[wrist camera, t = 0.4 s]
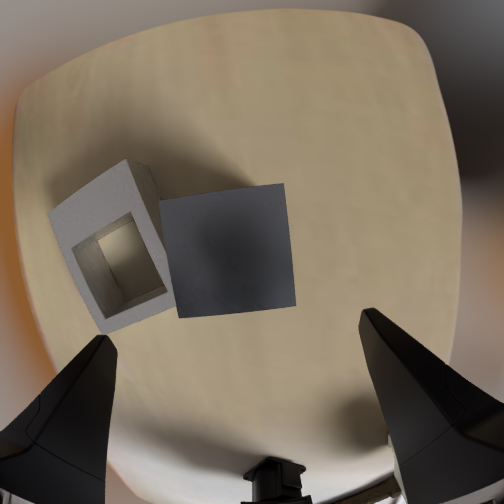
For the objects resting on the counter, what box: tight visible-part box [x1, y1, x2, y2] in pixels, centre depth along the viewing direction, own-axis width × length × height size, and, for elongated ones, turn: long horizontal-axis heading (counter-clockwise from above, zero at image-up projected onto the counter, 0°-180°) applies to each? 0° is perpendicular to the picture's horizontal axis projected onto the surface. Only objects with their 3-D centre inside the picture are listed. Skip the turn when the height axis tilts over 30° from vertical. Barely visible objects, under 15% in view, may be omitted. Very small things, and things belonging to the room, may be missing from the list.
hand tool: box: [332, 475, 401, 504], centre depth 29 cm, size 19×4×5 cm, turn 117°
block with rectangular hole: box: [48, 159, 176, 335], centre depth 21 cm, size 12×9×4 cm
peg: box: [159, 183, 296, 318], centre depth 17 cm, size 5×5×12 cm
